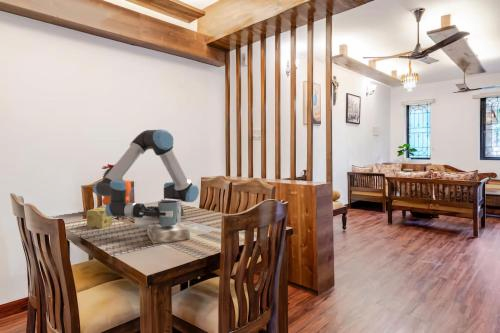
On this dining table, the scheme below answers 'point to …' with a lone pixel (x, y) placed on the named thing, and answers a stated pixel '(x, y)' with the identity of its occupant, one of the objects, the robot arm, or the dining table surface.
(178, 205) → the candy bar box
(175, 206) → the grey green cup
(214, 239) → the dining table surface
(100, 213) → the cheese
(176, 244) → the dining table surface
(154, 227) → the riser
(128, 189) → the potted cactus
